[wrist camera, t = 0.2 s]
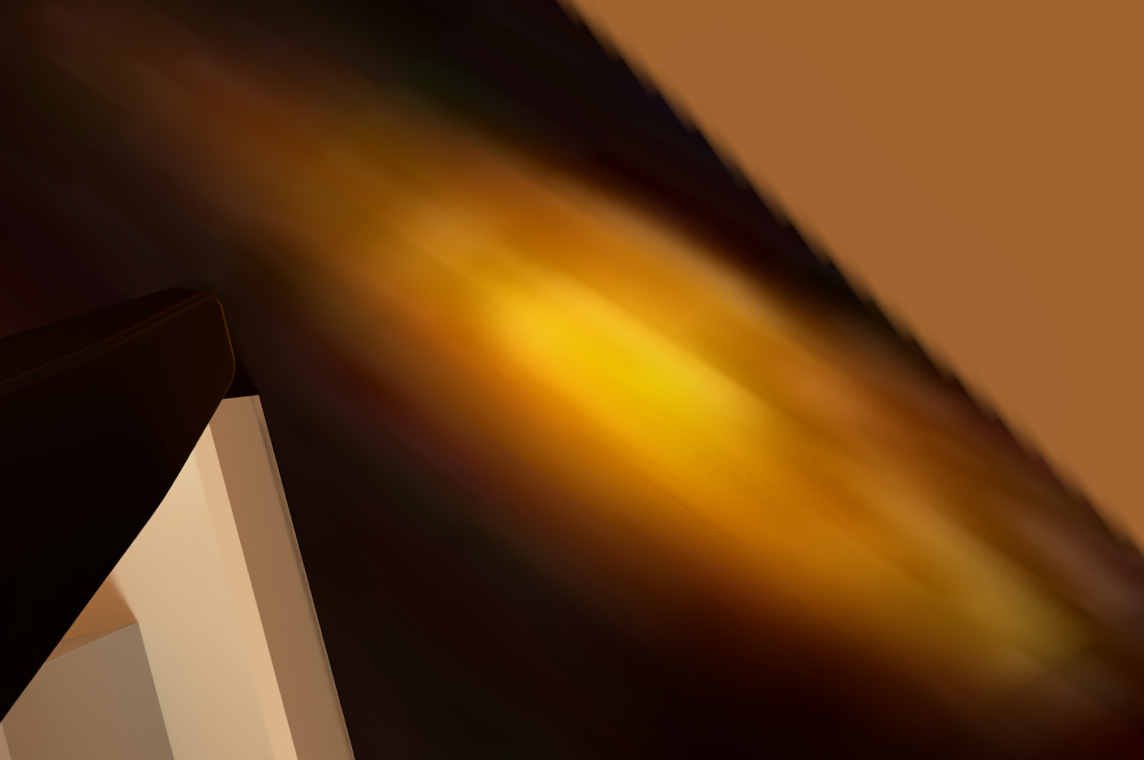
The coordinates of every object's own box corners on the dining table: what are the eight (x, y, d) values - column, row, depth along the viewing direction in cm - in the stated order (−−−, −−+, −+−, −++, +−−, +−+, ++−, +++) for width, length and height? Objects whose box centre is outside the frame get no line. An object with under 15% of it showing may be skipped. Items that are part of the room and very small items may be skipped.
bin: (404, 947, 26) (364, 1010, 24) (-48, 1008, 29) (-125, 1069, 27) (258, 395, 26) (203, 401, 24) (-174, 521, 30) (-261, 538, 27)
